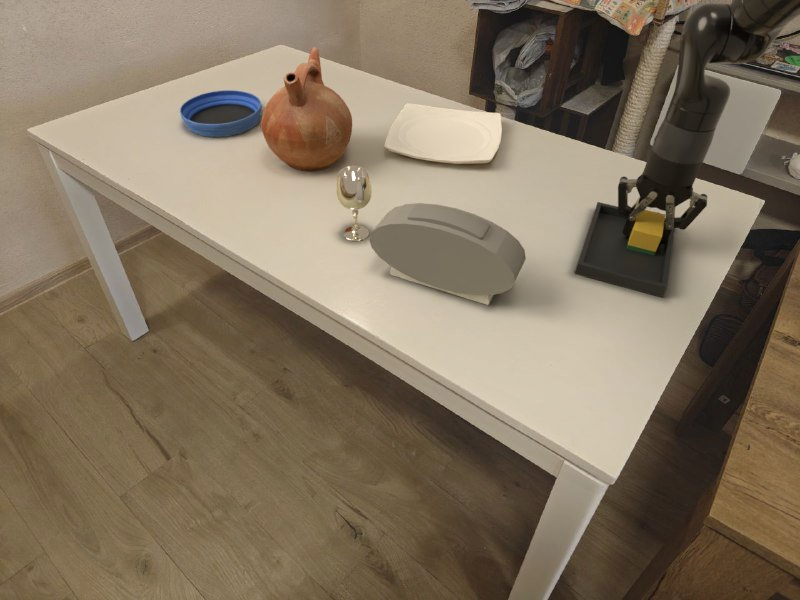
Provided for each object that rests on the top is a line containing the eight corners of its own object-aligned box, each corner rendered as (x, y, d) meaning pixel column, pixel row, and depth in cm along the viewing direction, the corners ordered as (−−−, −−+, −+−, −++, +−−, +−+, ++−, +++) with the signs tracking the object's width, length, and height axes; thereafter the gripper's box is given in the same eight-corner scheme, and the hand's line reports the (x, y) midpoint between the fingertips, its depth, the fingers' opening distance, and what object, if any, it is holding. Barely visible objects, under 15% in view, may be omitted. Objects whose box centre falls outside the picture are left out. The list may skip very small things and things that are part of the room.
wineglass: (354, 220, 99) (350, 160, 91) (379, 231, 96) (378, 171, 88) (333, 235, 95) (327, 174, 87) (358, 247, 93) (355, 186, 85)
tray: (594, 211, 102) (597, 201, 100) (671, 229, 98) (675, 219, 96) (574, 273, 89) (577, 263, 87) (662, 297, 85) (667, 287, 83)
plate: (494, 175, 111) (496, 163, 109) (377, 160, 114) (377, 148, 113) (504, 122, 128) (506, 111, 126) (402, 111, 132) (403, 100, 130)
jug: (289, 131, 123) (277, 38, 110) (365, 143, 120) (362, 48, 106) (252, 172, 110) (232, 72, 97) (336, 186, 107) (328, 84, 93)
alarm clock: (519, 289, 86) (533, 222, 77) (508, 314, 82) (522, 246, 73) (386, 250, 93) (386, 184, 84) (370, 271, 89) (367, 204, 80)
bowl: (205, 101, 135) (202, 86, 132) (274, 108, 132) (272, 93, 130) (168, 134, 122) (164, 119, 119) (244, 143, 119) (241, 127, 117)
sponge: (631, 226, 97) (638, 207, 95) (657, 233, 96) (665, 214, 93) (626, 248, 93) (633, 229, 90) (653, 255, 91) (662, 236, 89)
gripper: (627, 150, 82) (597, 241, 94) (730, 171, 78) (685, 263, 90) (633, 129, 87) (603, 218, 99) (730, 148, 83) (687, 238, 95)
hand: (642, 239), depth 94 cm, fingers closed on sponge, 4 cm apart
